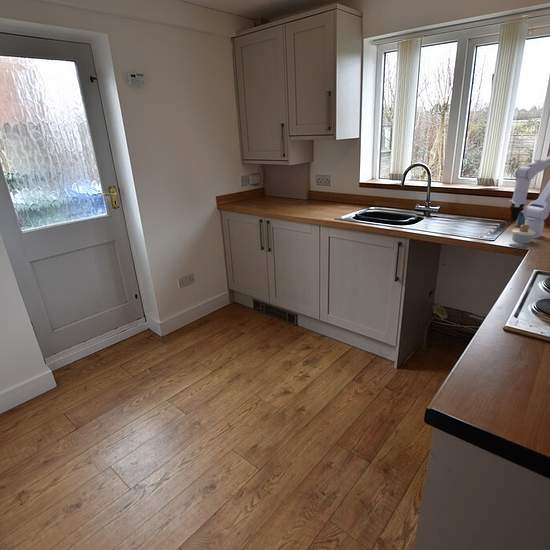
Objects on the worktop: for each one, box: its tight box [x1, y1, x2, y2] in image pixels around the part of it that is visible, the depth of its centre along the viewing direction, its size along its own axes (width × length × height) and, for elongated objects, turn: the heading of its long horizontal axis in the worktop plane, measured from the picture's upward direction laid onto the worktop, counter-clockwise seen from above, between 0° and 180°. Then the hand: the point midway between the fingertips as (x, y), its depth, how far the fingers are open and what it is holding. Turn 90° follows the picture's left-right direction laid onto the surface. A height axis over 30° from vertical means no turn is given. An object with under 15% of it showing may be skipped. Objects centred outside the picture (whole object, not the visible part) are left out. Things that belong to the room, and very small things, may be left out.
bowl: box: [511, 232, 533, 244], centre depth 185 cm, size 8×8×4 cm
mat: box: [508, 243, 529, 250], centre depth 178 cm, size 8×8×1 cm
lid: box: [511, 224, 536, 235], centre depth 184 cm, size 10×10×4 cm
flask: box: [514, 210, 526, 228], centre depth 209 cm, size 9×3×11 cm, turn 48°
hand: (514, 219), depth 186 cm, fingers open, 7 cm apart
